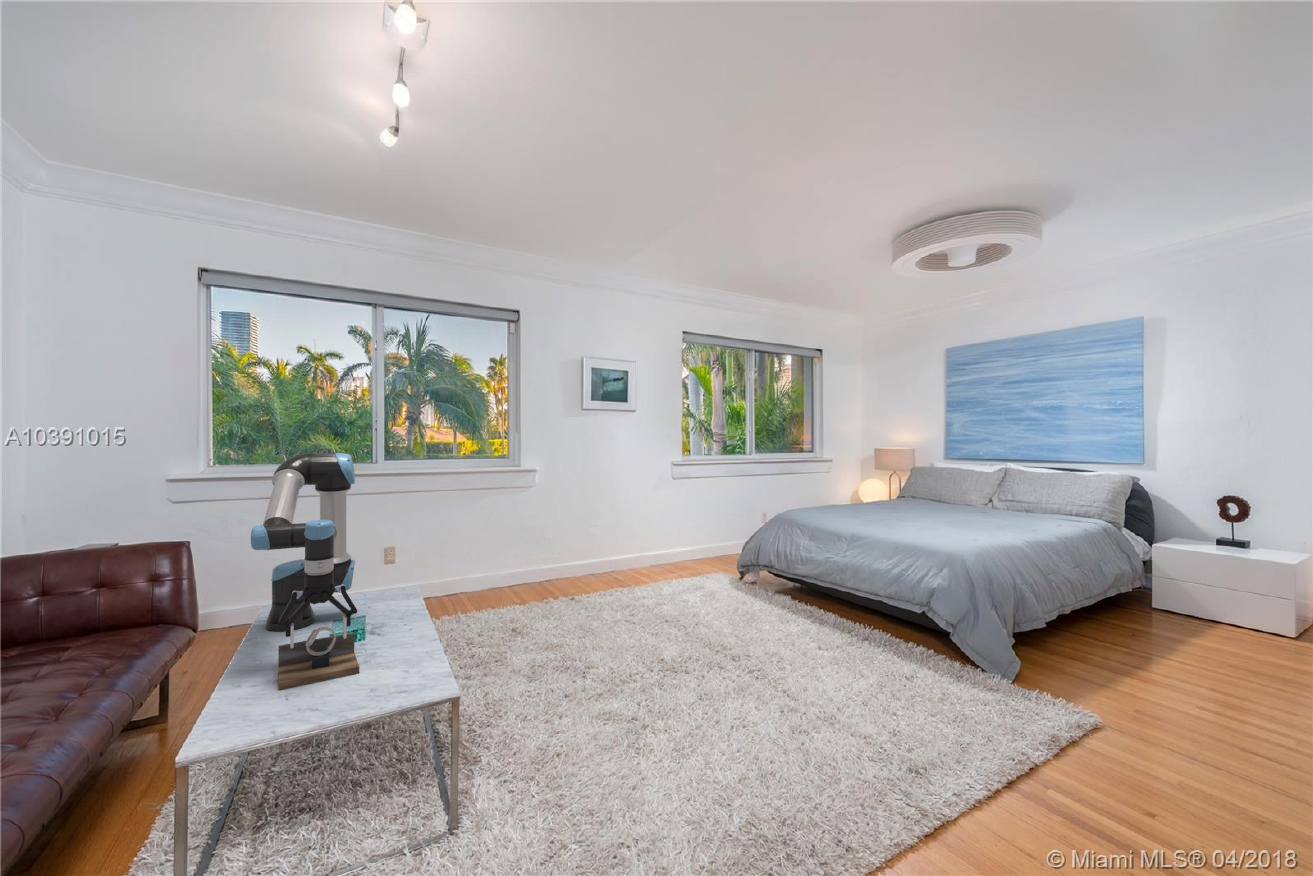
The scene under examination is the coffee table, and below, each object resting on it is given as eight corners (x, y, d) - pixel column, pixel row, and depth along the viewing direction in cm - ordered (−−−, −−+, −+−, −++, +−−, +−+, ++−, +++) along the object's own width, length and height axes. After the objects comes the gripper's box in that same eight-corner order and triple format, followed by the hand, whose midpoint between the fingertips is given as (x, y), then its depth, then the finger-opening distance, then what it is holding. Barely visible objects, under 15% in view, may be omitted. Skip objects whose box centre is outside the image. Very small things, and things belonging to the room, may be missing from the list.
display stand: (278, 672, 165) (278, 645, 165) (353, 657, 176) (353, 632, 176) (278, 690, 154) (278, 661, 153) (359, 673, 165) (359, 646, 165)
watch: (305, 663, 167) (305, 627, 167) (336, 658, 170) (336, 623, 170) (304, 670, 162) (304, 633, 162) (335, 665, 166) (335, 629, 165)
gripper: (268, 581, 155) (268, 655, 156) (367, 569, 170) (366, 637, 170) (268, 575, 161) (268, 646, 162) (364, 564, 176) (363, 629, 176)
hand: (318, 641), depth 166 cm, fingers open, 13 cm apart
